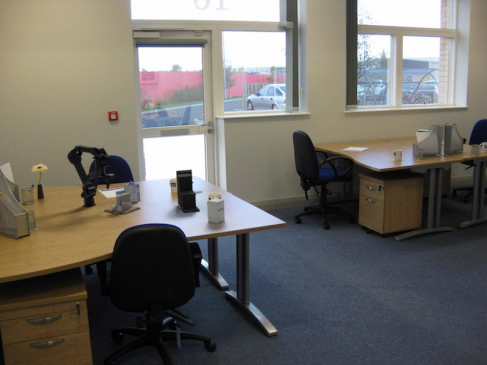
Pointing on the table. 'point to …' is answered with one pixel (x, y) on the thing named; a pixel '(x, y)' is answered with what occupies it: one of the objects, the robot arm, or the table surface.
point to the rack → (123, 205)
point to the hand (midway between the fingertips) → (102, 188)
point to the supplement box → (215, 210)
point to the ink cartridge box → (133, 191)
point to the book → (119, 196)
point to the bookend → (186, 191)
